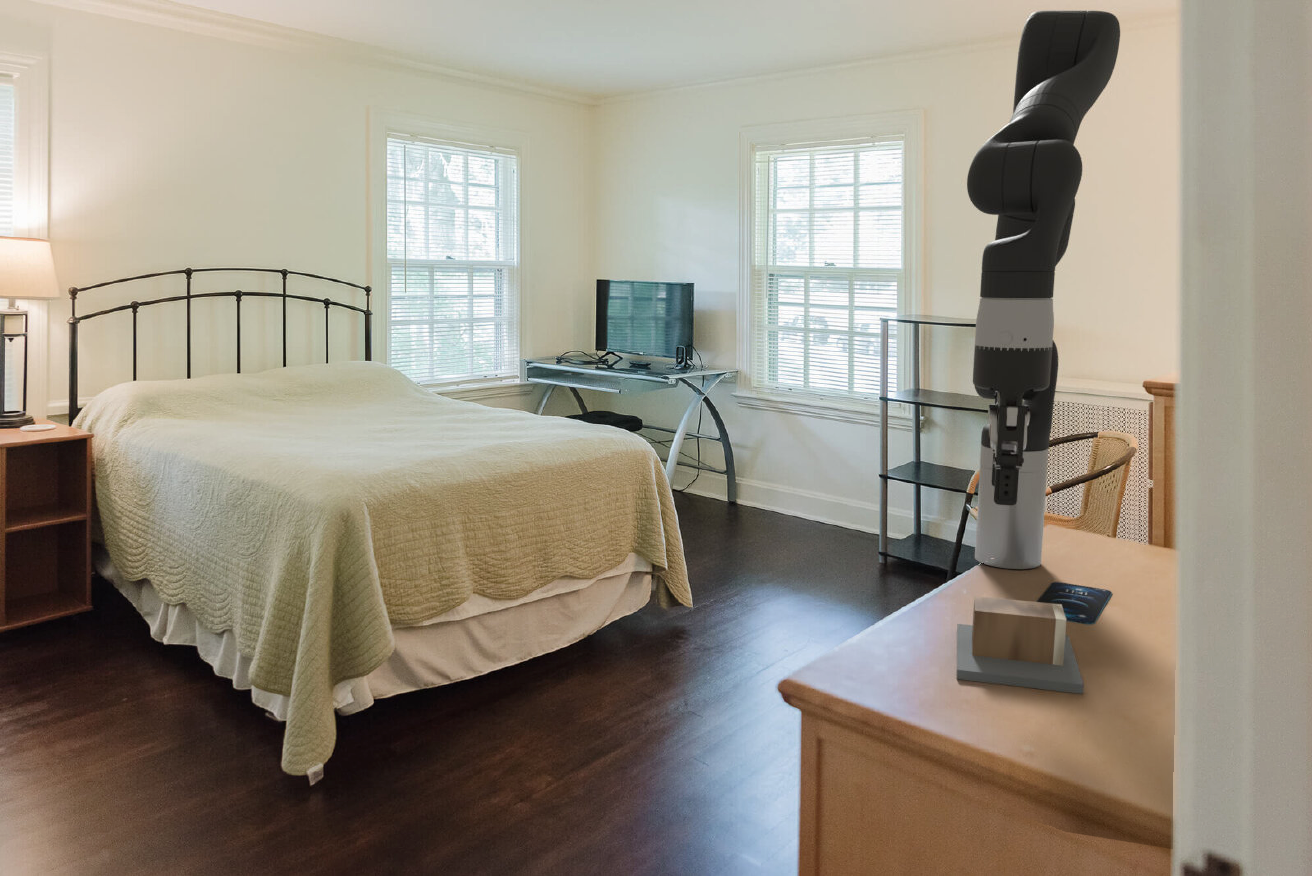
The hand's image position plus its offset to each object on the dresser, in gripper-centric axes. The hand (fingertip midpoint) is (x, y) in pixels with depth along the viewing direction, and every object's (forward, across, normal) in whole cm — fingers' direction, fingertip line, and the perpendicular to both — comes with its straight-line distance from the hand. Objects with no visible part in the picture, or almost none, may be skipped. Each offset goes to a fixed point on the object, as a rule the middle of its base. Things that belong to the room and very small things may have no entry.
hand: (1003, 495), depth 99 cm
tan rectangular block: (+15, 0, +2) cm, 15 cm away
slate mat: (+18, 0, -2) cm, 18 cm away
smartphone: (+19, +22, -10) cm, 31 cm away
